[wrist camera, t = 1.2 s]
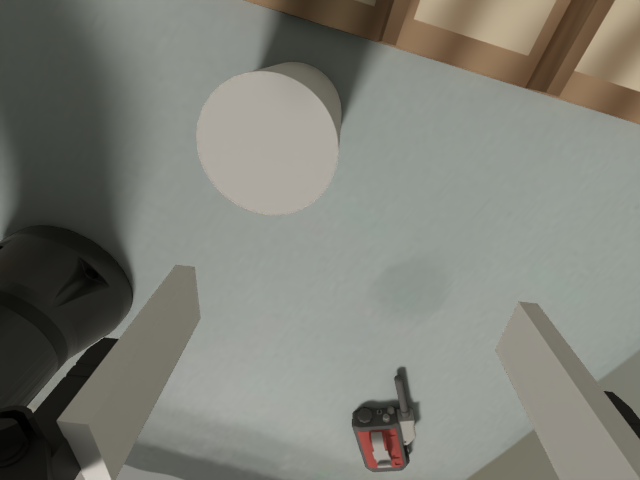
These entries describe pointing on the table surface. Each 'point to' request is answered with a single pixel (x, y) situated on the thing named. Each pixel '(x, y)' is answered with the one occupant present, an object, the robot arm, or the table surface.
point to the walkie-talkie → (385, 434)
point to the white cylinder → (271, 137)
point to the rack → (507, 41)
